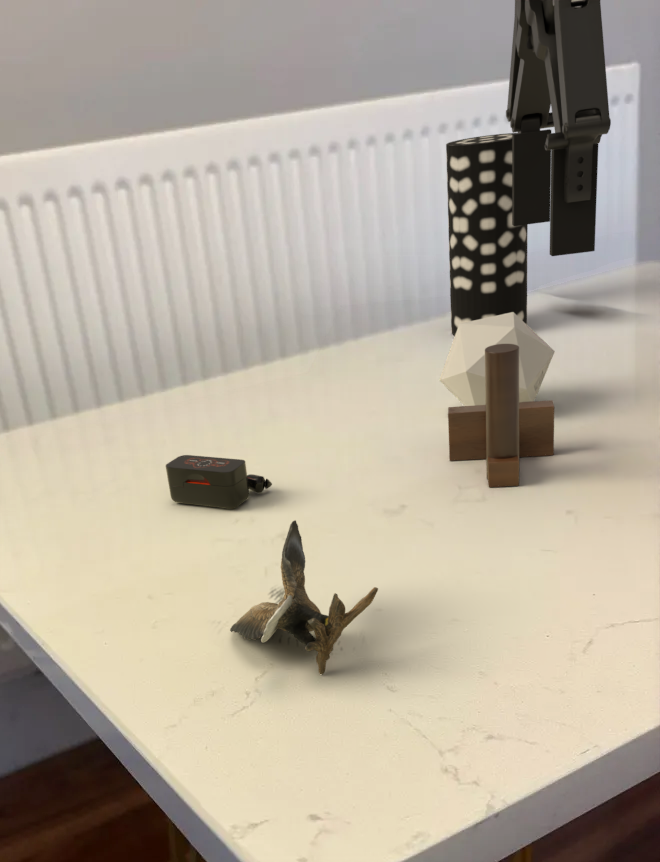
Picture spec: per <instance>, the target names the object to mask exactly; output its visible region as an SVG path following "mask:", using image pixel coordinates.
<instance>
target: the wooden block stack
mask: <svg viewBox="0 0 660 862" xmlns="http://www.w3.org/2000/svg"><path fill="white" fill-rule="evenodd" d="M447 421H448V422H447V424H448V425H447V426H448V450H449V451H448V452H449V453H448V457H449V461H450V462H453V461H469V460H470V461H473V460H485V465H486V467H485V468H486V470H485V471H486V472H485V473H486V480H487V487H488V488H501V487H502V488H503V487H518V486H520V458H524V457H525V458H526V457H527V458H528V457H543V456H545V457H546V456H554V453H555V403H554V400H553V399H551V400H540V401H539V400H537V401H536V400H535V401H534V402H519V346H518V345H514V344H497V345H492V346H489V347H487V348H486V349H485V405H474V406H464V405H461V406H448V407H447Z"/></svg>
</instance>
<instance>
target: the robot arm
mask: <svg viewBox="0 0 660 862" xmlns="http://www.w3.org/2000/svg"><path fill="white" fill-rule="evenodd" d="M603 31H604V30H603V19H602V7H601V0H514V20H513V33H512V43H511V44H512V45H511V56H510V68H509V69H510V70H509V82H508V91H507V92H508V94H507V105H506V110H505V117H506V119H507V122H508V123H509V125H510V128H511V131H512V132H511V133H518V134H512V225H513V226H519V225H527V224H528V225H534V224H541V223H542V224H543V223H549V255H550V256H551V257H557V256H565V255H566V256H567V255H574V254H582V253H589V252H595V251H596V248H595V247H596V225H597V224H596V223H597V221H596V220H597V195H598V193H597V192H598V167H599V166H598V165H599V164H598V163H599V144H600V143H601V139H602V137H603V135H607V134H609V131H610V129H611V125H612V123H611V122H612V120H611V118H610V108H609V106H610V105H609V93H608V79H607V70H606V69H607V67H606V55H605V45H604V44H605V43H604V32H603ZM550 111H551V112H550ZM550 128H554V132H552V129H550Z"/></svg>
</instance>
